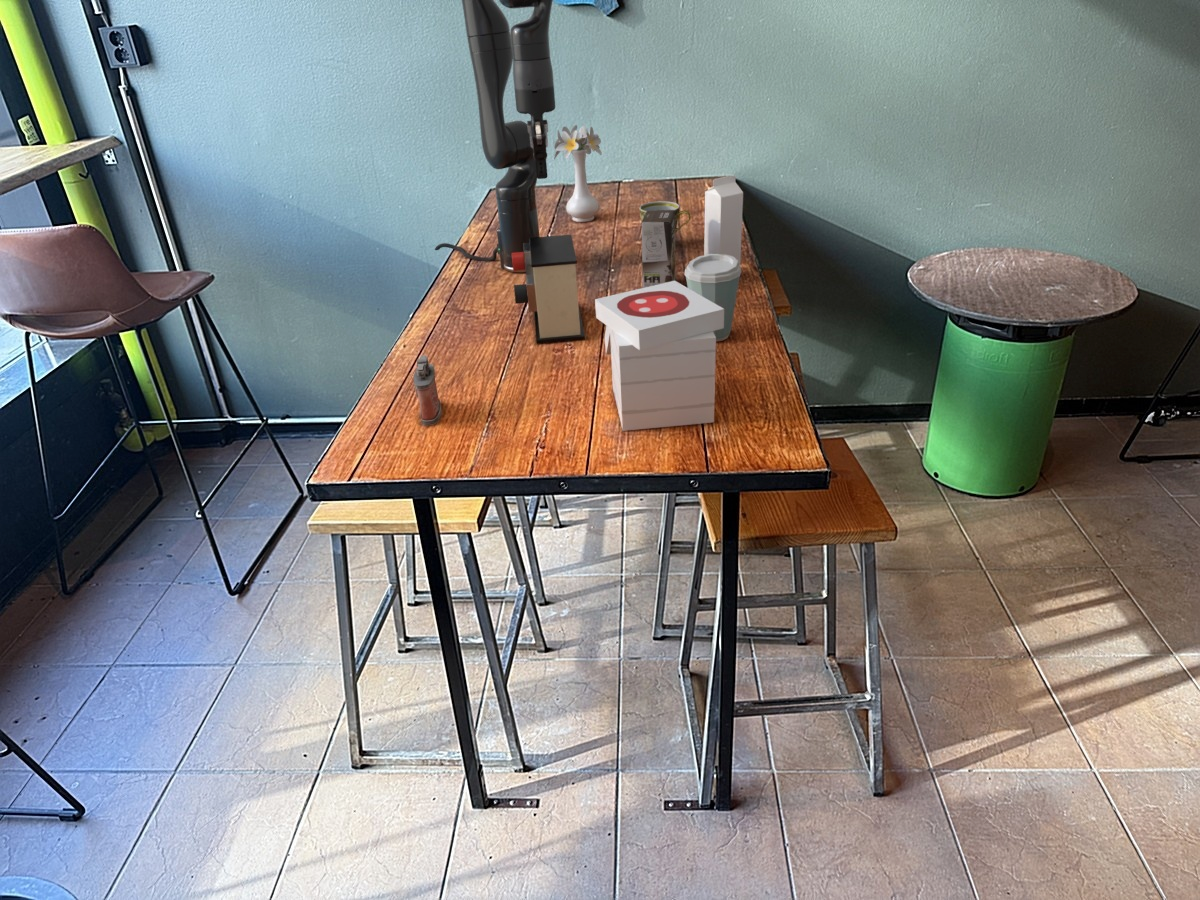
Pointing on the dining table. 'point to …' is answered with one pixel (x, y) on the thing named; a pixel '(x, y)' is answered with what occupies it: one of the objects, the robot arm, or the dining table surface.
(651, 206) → the ceramic cup
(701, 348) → the pizza boxes
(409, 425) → the dining table surface
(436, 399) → the lighter
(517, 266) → the red button
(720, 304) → the disposable coffee cup
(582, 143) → the flower vase
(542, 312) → the control box
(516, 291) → the black button
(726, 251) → the milk
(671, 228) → the coffee box
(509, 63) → the robot arm
